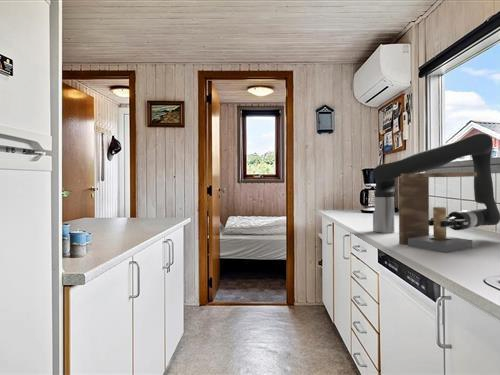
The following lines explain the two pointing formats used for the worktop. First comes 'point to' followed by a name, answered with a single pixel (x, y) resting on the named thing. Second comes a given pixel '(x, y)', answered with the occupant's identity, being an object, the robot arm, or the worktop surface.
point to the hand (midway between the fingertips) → (435, 223)
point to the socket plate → (440, 243)
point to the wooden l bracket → (417, 203)
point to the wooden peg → (439, 216)
